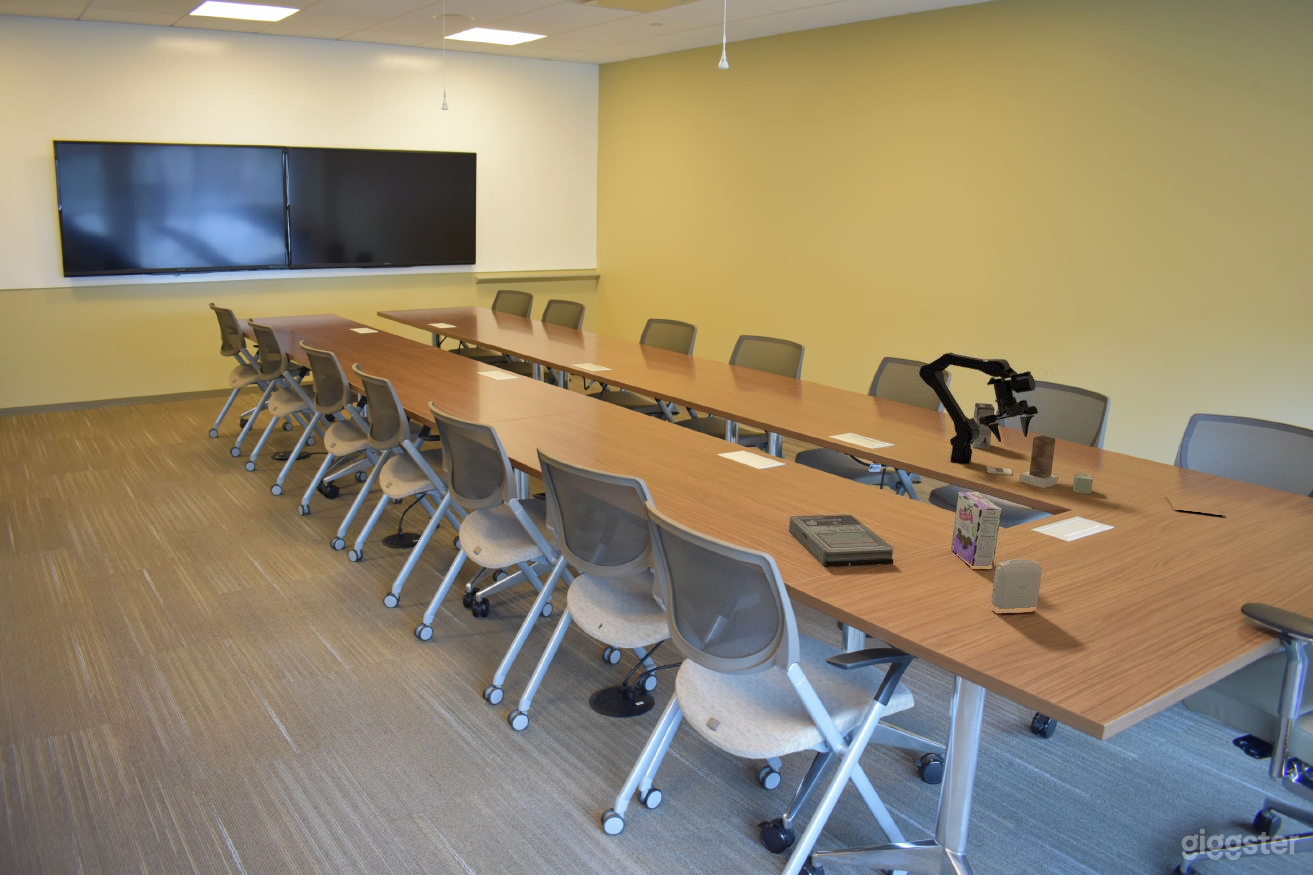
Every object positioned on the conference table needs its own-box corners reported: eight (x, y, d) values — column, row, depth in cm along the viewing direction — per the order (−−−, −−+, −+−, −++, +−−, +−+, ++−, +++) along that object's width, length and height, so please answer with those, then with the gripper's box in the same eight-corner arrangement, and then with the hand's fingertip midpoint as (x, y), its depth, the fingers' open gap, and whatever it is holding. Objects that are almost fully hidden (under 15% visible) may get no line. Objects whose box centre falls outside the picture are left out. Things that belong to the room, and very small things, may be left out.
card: (987, 472, 320) (987, 470, 320) (986, 468, 326) (986, 465, 326) (1011, 475, 318) (1012, 473, 318) (1010, 470, 324) (1010, 468, 323)
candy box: (949, 550, 244) (957, 490, 240) (971, 550, 245) (979, 491, 241) (971, 570, 231) (979, 507, 227) (994, 570, 231) (1002, 508, 227)
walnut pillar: (1029, 474, 310) (1033, 437, 307) (1037, 472, 313) (1041, 435, 310) (1043, 478, 307) (1047, 440, 303) (1051, 475, 310) (1055, 438, 306)
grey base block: (1018, 482, 311) (1019, 474, 311) (1032, 478, 317) (1033, 470, 316) (1043, 489, 305) (1044, 480, 304) (1057, 485, 310) (1058, 476, 310)
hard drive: (824, 568, 229) (826, 552, 228) (787, 531, 254) (788, 516, 253) (892, 565, 233) (894, 549, 232) (849, 529, 258) (850, 514, 257)
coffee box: (969, 442, 363) (974, 402, 359) (986, 443, 362) (992, 403, 358) (972, 447, 354) (977, 407, 350) (990, 449, 353) (995, 408, 349)
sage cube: (1074, 492, 301) (1076, 477, 300) (1072, 488, 306) (1074, 473, 305) (1090, 494, 300) (1093, 479, 299) (1088, 490, 305) (1090, 475, 303)
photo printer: (996, 616, 205) (1004, 564, 202) (986, 607, 209) (994, 556, 206) (1038, 614, 206) (1046, 562, 203) (1028, 606, 210) (1035, 555, 207)
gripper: (987, 400, 311) (996, 445, 312) (1040, 389, 312) (1049, 434, 312) (975, 401, 322) (983, 444, 323) (1026, 390, 323) (1034, 433, 323)
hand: (1013, 439), depth 320 cm, fingers open, 9 cm apart
